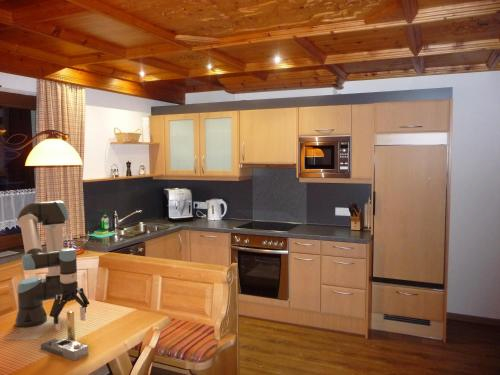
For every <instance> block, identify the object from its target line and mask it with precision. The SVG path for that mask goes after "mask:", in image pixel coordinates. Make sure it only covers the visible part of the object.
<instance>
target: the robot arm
mask: <svg viewBox="0 0 500 375" xmlns="http://www.w3.org/2000/svg"><path fill="white" fill-rule="evenodd" d="M68 216H69V215H68V209H67V206H66V203H65V202H64V201H62V200H47V201H46V200H45V201H33V202H29V203H28V204H25V206H23V207H22V208H21V210H20V211H19V213H18V215H17V225H18V227H19V228H20V230H21V236H22V242H23V248H24V254H23V255H22V256H21V267H22V270H23V271H35V270H40V269H41V270H42V269H47V273H46V274H45V278H42V277H41V276H32V277H29V278H25V279H23V280H21V281H20V282H18V283H17V291H16V292H17V303H18V306H17V307H18V311H17V313H16V317H15V321H14V322H15V326H16V327H19V328H29V327H35V326H36V327H37V326H39V325H41V324H42V325H43V324H44V323H45V322H46V321H47V320H48V316H49V317H52V318H53V324H54V325H55V327H54V328H55V331H59V332H60V331H61V326H62V325H61V316H60V315H61V312H62V311H63V309H64V307H65V306H66V304H67V303H69V302H71V301H75V302H76V303H78V304H79V305H80V306H79V318H80V320H79V321H83V322H85V321H86V313H87V307H88V305H90V301H89V300H88V297H87V296H86V293H85V291H84V288H83V287H78V268H77V267H78V266H77V265H78V264H77V257H78V255H77V250H76V249H75V248H71V247H70V248H65V247H64V246H65V245H64V233H63V227H64V226H65V224H66V222H67V221H68V219H69V217H68ZM38 224H41V226H42V227H43V228H44V229H45V238H46V239H45V240H46V251H45V252H43V247H42V246H43V245H42V243H41V239H40V233H39V232H40V231H39V228H38ZM78 295H79V296H78ZM49 300H50V301H51V300H54V301H53V304H52V306H51V309H50V312H49V315H48V314H47V312H46V310H45V308H44V303H43V302H44V301H49Z"/></svg>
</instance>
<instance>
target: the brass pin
mask: <svg viewBox="0 0 500 375" xmlns="http://www.w3.org/2000/svg"><path fill="white" fill-rule="evenodd" d="M66 327H67V328H66V329H67V330H66V331H67V334H66V335H67V339H69V340H72V341H75V340H76V331H75V330H76V328H75V311H74V310H71V311H70V310H68V311H67V312H66ZM75 342H76V341H75Z"/></svg>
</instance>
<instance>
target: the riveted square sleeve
mask: <svg viewBox="0 0 500 375" xmlns="http://www.w3.org/2000/svg"><path fill="white" fill-rule="evenodd" d="M40 349H41V350H44V351H45V352H49V353H52V354H55V355H58V356H60V357H63V358H66V359H69V360H72V361H73V362H76V361H78V360H79V359H81V358H83V357H85V356H87V355H89V345H88V344H84V343H81V342H78V341H72V340H69V339H68V338H66V337H64V338H62V339H60V340H59V339H56V338H53V339H51V340H49V341H46V342H43V343H41V344H40Z"/></svg>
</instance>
